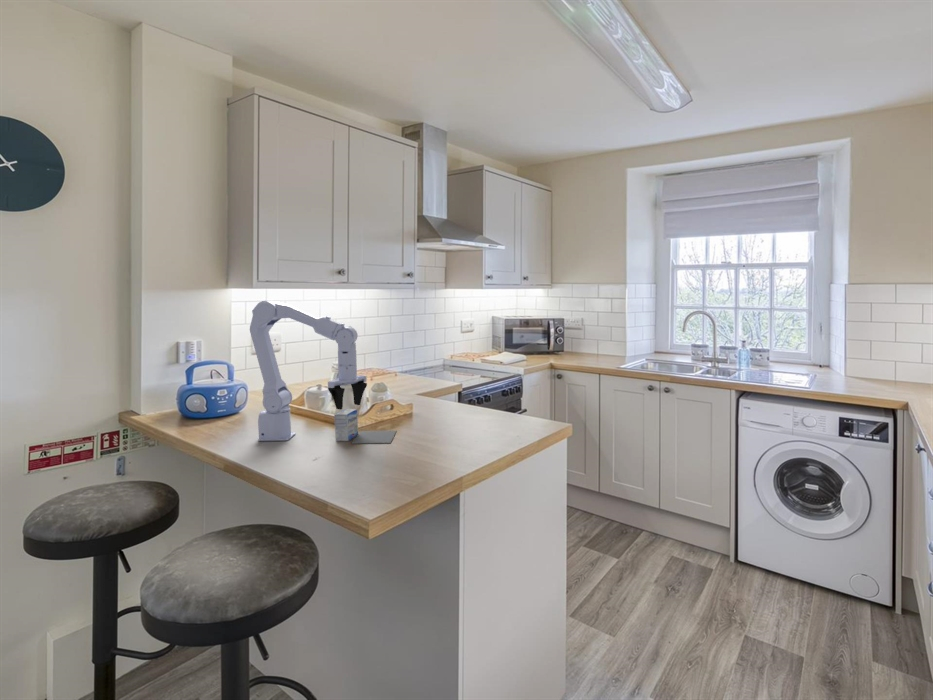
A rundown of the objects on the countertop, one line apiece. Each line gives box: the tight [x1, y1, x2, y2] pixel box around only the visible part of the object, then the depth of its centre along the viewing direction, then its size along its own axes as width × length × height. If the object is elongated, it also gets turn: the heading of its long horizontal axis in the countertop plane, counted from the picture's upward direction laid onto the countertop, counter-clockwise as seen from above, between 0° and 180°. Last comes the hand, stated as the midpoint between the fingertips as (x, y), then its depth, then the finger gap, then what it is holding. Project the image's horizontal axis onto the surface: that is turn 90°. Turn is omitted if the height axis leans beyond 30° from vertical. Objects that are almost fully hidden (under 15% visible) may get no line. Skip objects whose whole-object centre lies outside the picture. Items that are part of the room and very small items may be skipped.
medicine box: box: [333, 408, 359, 442], centre depth 165 cm, size 8×4×9 cm, turn 168°
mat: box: [351, 430, 397, 445], centre depth 165 cm, size 12×14×1 cm
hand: (348, 406), depth 165 cm, fingers open, 7 cm apart
